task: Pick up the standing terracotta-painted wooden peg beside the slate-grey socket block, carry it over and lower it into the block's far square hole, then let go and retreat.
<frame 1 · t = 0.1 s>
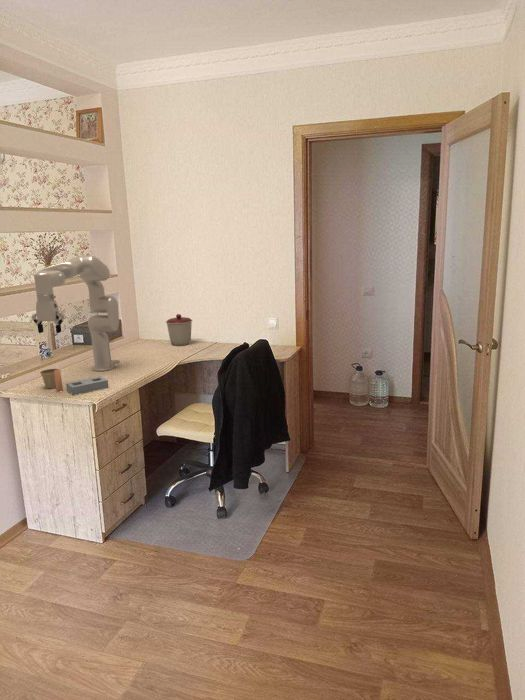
hand: (50, 332, 261), 31 cm above the table, tool pointing down, fingers open, 9 cm apart
peg: (59, 391, 270), on the table
canister: (180, 344, 366), on the table
flower pot: (51, 387, 279), on the table
socket block: (87, 389, 272), on the table
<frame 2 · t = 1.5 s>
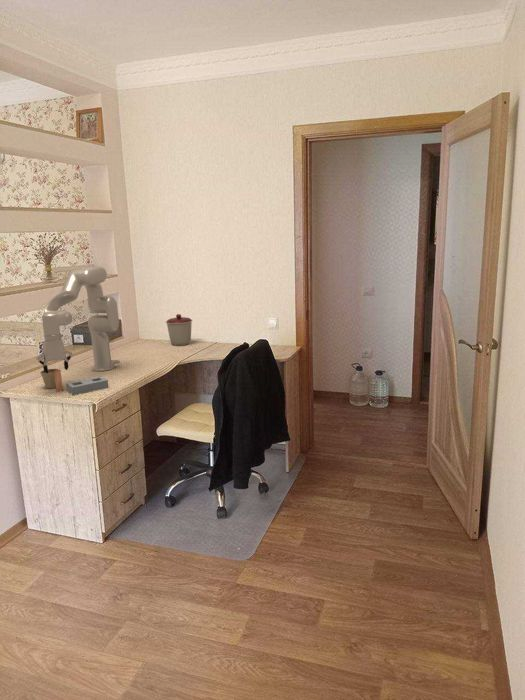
hand: (56, 371, 267), 11 cm above the table, tool pointing down, fingers open, 9 cm apart
nothing on the table moved.
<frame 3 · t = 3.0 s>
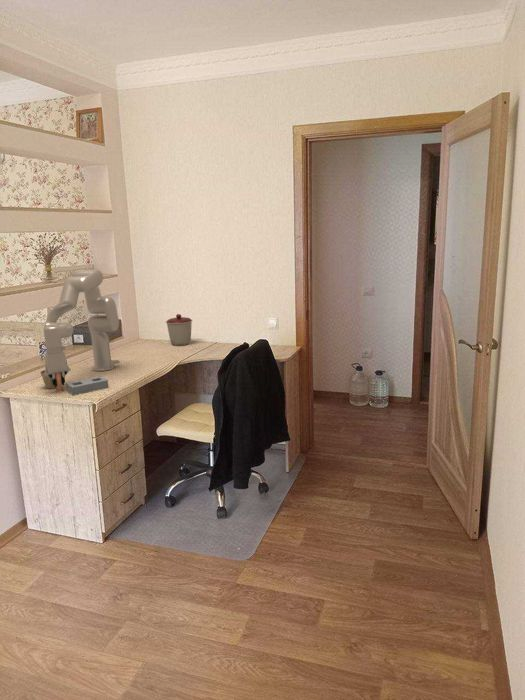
hand: (59, 385, 270), 3 cm above the table, tool pointing down, fingers closed on peg, 3 cm apart
peg: (59, 391, 270), on the table, touching gripper
everything else where it was.
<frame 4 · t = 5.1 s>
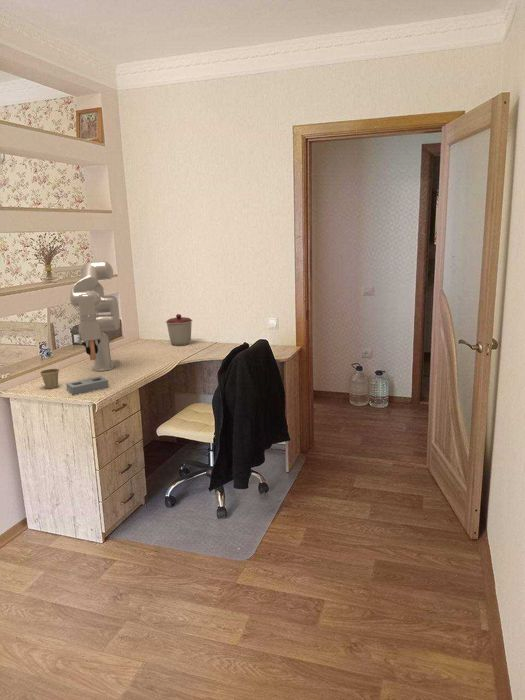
hand: (92, 353, 270), 18 cm above the table, tool pointing down, fingers closed on peg, 3 cm apart
peg: (93, 359, 271), point 15 cm above the table, touching gripper
everything else where it was.
when the fingers open (5 cm above the table, at t = 7.4 s): peg drops 2 cm, resting in socket block.
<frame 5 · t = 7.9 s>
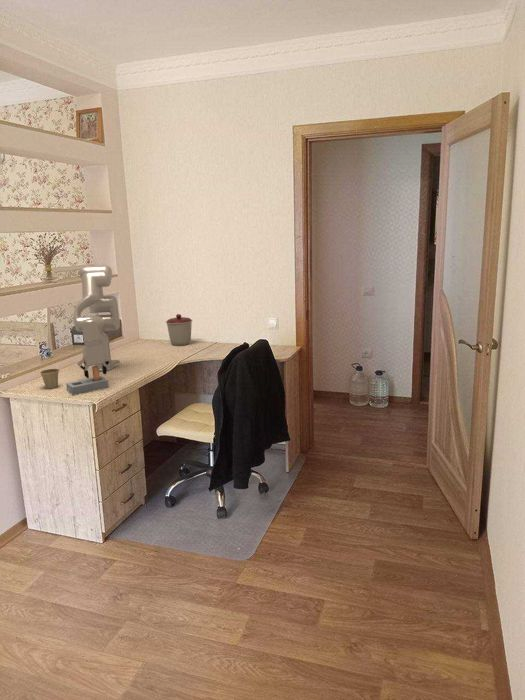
hand: (96, 375, 273), 6 cm above the table, tool pointing down, fingers open, 8 cm apart
peg: (97, 387, 275), resting in socket block
everything else where it was.
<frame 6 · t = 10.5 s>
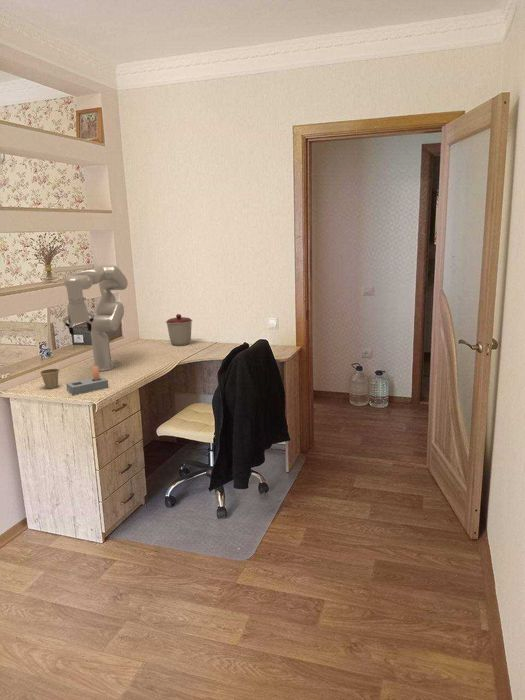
hand: (80, 332, 284), 26 cm above the table, tool pointing down, fingers open, 9 cm apart
nothing on the table moved.
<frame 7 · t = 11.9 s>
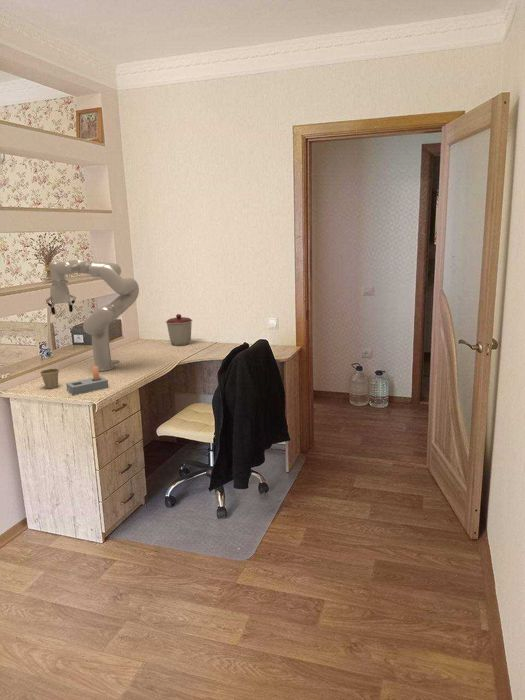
hand: (62, 313, 306), 33 cm above the table, tool pointing down, fingers open, 9 cm apart
nothing on the table moved.
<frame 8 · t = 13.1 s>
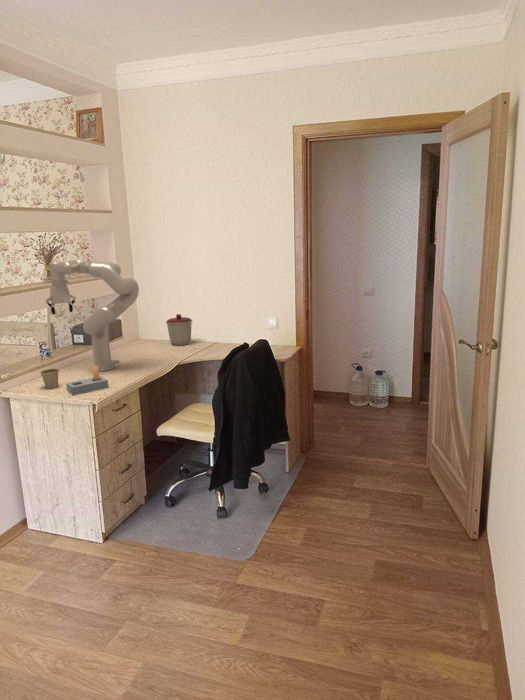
hand: (62, 313, 306), 33 cm above the table, tool pointing down, fingers open, 9 cm apart
nothing on the table moved.
at the end: peg 0.0 cm from the target spot on the socket block, point 0.0 cm above the socket block's base; peg tilted 0°; the gripper is holding nothing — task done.
